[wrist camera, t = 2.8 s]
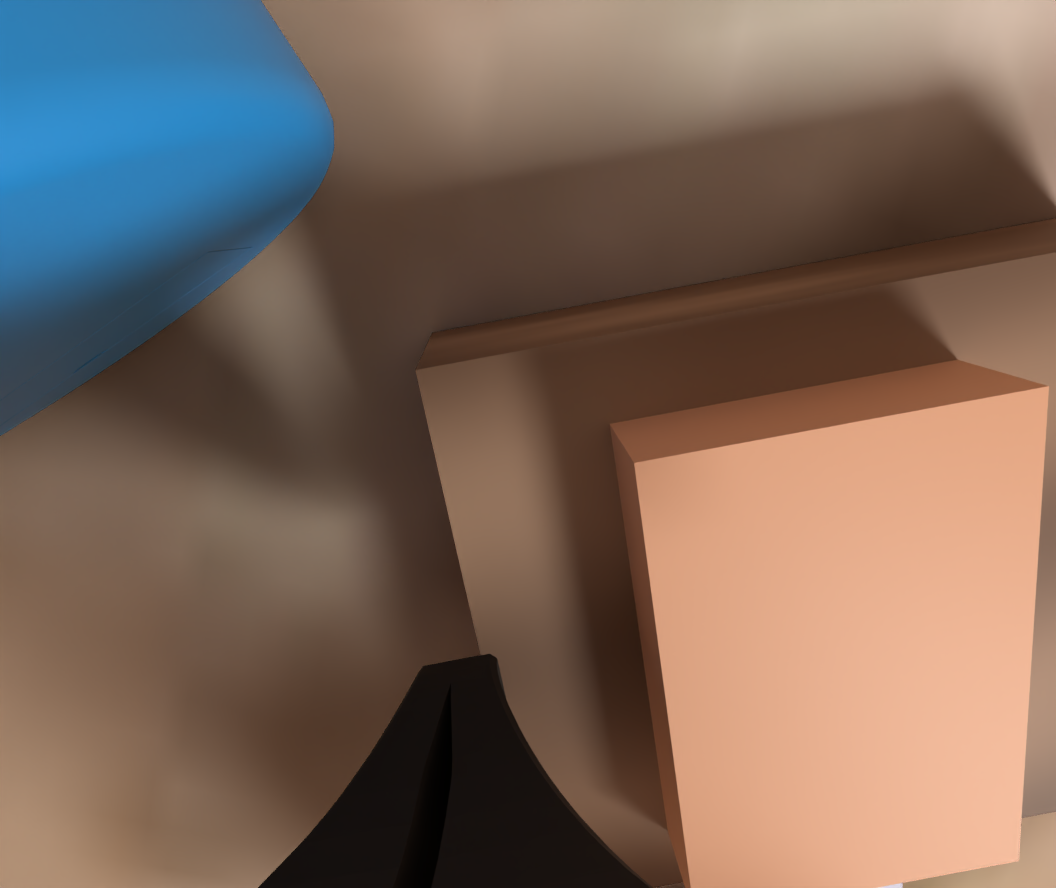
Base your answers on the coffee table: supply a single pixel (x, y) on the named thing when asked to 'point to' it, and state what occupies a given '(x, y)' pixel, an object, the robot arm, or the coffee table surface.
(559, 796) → the robot arm
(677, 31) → the coffee table surface
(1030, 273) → the tan flat block
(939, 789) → the peach rectangular block
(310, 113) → the alarm clock
